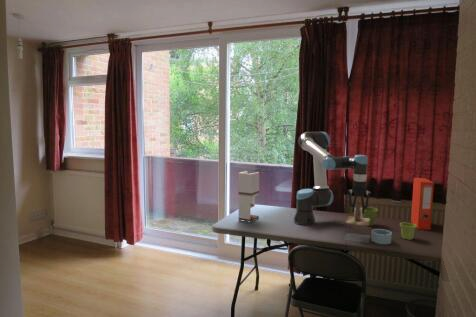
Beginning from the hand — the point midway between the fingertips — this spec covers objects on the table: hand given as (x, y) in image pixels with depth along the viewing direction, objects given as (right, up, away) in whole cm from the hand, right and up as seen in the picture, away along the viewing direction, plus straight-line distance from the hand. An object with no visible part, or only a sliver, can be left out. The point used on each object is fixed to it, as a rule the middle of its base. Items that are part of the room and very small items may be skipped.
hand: (358, 218), depth 213 cm
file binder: (+52, -10, +26) cm, 59 cm away
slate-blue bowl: (+12, -13, -4) cm, 19 cm away
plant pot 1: (+17, -10, +29) cm, 36 cm away
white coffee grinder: (-66, -8, +42) cm, 78 cm away
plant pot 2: (+31, -13, +2) cm, 34 cm away
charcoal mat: (0, -13, +1) cm, 13 cm away
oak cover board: (0, -2, 0) cm, 2 cm away
